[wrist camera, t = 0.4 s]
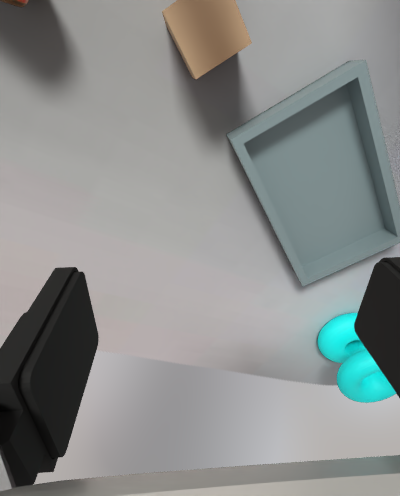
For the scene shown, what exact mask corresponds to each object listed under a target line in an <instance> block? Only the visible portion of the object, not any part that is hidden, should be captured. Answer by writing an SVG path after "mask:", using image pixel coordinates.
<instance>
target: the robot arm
mask: <svg viewBox="0 0 400 496" xmlns="http://www.w3.org/2000/svg"><path fill="white" fill-rule="evenodd" d="M354 329H355V333H356V335H357V336H358V338H359V339H360V340H361V342H362V343H363V345H364V346H365V348H366V349H367V351H368V352H369V354H370V355H371V357H372V358H373V359H374V361H375V362H376V364H377V365H378V367H379V368H380V370H381V371H382V373H383V374H384V376H385V377H386V379H387V380H388V381H389V383H390V384H391V386H392V387H393V389H394V390H395V392H396V393H397V395H398V396H399V398H400V257H394V258H383V259H381V260H380V261H379V262H378V263H376V264H375V266H374V269H373V272H372V274H371V277H370V280H369V283H368V286H367V289H366V292H365V294H364V297H363V300H362V303H361V306H360V309H359V311H358V314H357V317H356V320H355V323H354ZM97 346H98V331H97V327H96V323H95V318H94V314H93V310H92V305H91V301H90V296H89V292H88V288H87V283H86V279H85V275H84V273H83V272H78V269H77V268H76V267H67V268H55V270H54V271H53V272H52V274H51V276H50V277H49V279H48V280H47V282H46V283H45V285H44V287H43V288H42V290H41V291H40V293H39V294H38V296H37V298H36V299H35V301H34V302H33V304H32V305H31V307H30V309H29V310H28V312H26V313H24V314H23V315H22V316H21V317H20V319H19V320H18V322H17V324H16V325H15V327H14V328H13V330H12V331H11V333H10V334H9V336H8V337H7V339H6V340H5V342H4V344H3V345H2V347H1V348H0V496H400V455H398V456H382V457H381V456H380V457H366V458H351V459H337V460H321V461H307V462H292V463H279V464H263V465H249V466H235V467H221V468H208V469H194V470H181V471H167V472H154V473H141V474H129V475H118V476H107V477H96V478H85V479H75V480H64V481H56V482H49V483H42V484H36V485H33V484H34V482H35V480H36V477H37V474H38V473H42V472H53V471H54V468H55V465H56V462H57V459H58V457H63V456H64V455H65V453H66V450H67V447H68V443H69V440H70V437H71V434H72V430H73V427H74V423H75V420H76V417H77V413H78V410H79V407H80V403H81V400H82V396H83V393H84V390H85V387H86V383H87V380H88V376H89V373H90V370H91V366H92V363H93V360H94V356H95V353H96V350H97Z"/></svg>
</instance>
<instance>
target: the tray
mask: <svg viewBox="0 0 400 496" xmlns="http://www.w3.org/2000/svg"><path fill="white" fill-rule="evenodd" d="M226 135H227V137H228V139H229V141H230V143H231V145H232V147H233V149H234V151H235V153H236V155H237V157H238V159H239V161H240V163H241V165H242V167H243V169H244V171H245V173H246V175H247V177H248V179H249V181H250V183H251V185H252V187H253V189H254V191H255V193H256V195H257V197H258V199H259V201H260V203H261V205H262V207H263V210H264V212H265V214H266V216H267V218H268V220H269V222H270V224H271V226H272V228H273V230H274V232H275V234H276V236H277V238H278V240H279V242H280V244H281V246H282V248H283V250H284V252H285V254H286V256H287V258H288V260H289V262H290V264H291V266H292V268H293V270H294V272H295V274H296V276H297V277H298V279H299V281H300V283H301V284H302V286H305V285H308V284H310V283H312V282H314V281H316V280H319V279H321V278H323V277H325V276H327V275H330V274H332V273H334V272H336V271H338V270H341V269H343V268H345V267H347V266H349V265H352V264H354V263H356V262H358V261H360V260H363V259H365V258H367V257H369V256H372V255H374V254H376V253H378V252H380V251H383V250H385V249H387V248H389V247H391V246H394V245H396V244H398V243H400V206H399V202H398V197H397V193H396V189H395V184H394V180H393V176H392V171H391V167H390V163H389V158H388V154H387V149H386V145H385V141H384V136H383V132H382V128H381V123H380V119H379V115H378V110H377V106H376V102H375V97H374V93H373V89H372V84H371V80H370V75H369V71H368V67H367V62H366V60H357V61H348V62H346V63H345V64H343V65H341V66H340V67H338V68H336V69H335V70H333V71H331V72H330V73H328V74H326V75H325V76H323V77H321V78H320V79H318V80H316V81H315V82H313V83H311V84H310V85H308V86H306V87H305V88H303V89H301V90H300V91H298V92H296V93H295V94H293V95H291V96H290V97H288V98H286V99H284V100H283V101H281V102H279V103H278V104H276V105H274V106H273V107H271V108H269V109H268V110H266V111H264V112H263V113H261V114H259V115H258V116H256V117H254V118H253V119H251V120H249V121H248V122H246V123H244V124H243V125H241V126H239V127H238V128H236V129H234V130H233V131H231V132H229V133H228V134H226Z"/></svg>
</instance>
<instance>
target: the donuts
mask: <svg viewBox="0 0 400 496" xmlns="http://www.w3.org/2000/svg"><path fill="white" fill-rule="evenodd" d="M357 314H358V313H348V314H343V315H340V316H338V317H336V318H334V319H332V320H330V321H329V322H328V323H327V324H326V325H325V326H324V327H323V328H322V329H321V331H320V333H319V336H318V347H319V349H320V351H321V353H322V354H323V355H324V356H325V357H326V358H328V359H329V360H331V361H334V362H338V363H342V365H341V366H340V368H339V370H338V373H337V384H338V387H339V389H340V391H341V392H342V393H343V394H344V395H345V396H346V397H348V398H349V399H351V400H354V401H357V402H365V403H368V402H376V401H381V400H384V399H386V398H389V397H391V396H393V395H394V394H396V392H395V390H394V389H393V387H392V386H391V384H390V383H389V381H388V380H387V379H386V377H385V376H384V374H383V373H382V371H381V370H380V368H379V367H378V365H377V364H376V362H375V361H374V359H373V358H372V357H371V355H370V354H369V352H368V351H367V349H366V348H365V346H364V345H363V343H362V342H361V340H360V339H359V338H358V336H357V335H356V333H355V329H354V323H355V320H356V317H357Z"/></svg>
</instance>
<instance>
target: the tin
mask: <svg viewBox="0 0 400 496" xmlns="http://www.w3.org/2000/svg"><path fill="white" fill-rule="evenodd" d="M0 1H2V2H4V3H9V4H12V5H15V6H18V7H24V6H25V5H26V4H27V3H28V1H29V0H0Z"/></svg>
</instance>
